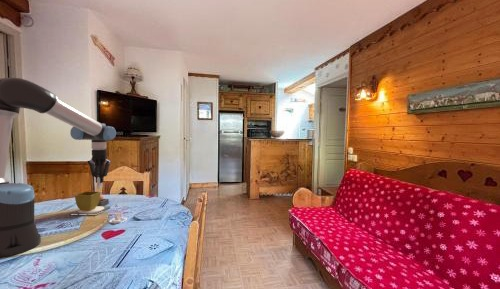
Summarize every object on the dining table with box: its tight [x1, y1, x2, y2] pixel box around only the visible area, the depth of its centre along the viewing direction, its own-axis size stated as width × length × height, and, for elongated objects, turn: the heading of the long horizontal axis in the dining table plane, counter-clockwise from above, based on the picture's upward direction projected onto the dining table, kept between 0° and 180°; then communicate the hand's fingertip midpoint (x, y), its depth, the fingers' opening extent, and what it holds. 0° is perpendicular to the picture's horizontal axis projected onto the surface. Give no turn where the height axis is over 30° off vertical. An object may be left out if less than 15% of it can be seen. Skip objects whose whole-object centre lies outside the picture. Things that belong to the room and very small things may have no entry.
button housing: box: [97, 198, 109, 206], centre depth 140 cm, size 7×7×3 cm
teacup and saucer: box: [108, 211, 128, 224], centre depth 116 cm, size 9×8×4 cm
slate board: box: [70, 205, 111, 215], centre depth 129 cm, size 13×13×1 cm
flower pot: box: [74, 191, 101, 211], centre depth 128 cm, size 9×9×9 cm
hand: (99, 188), depth 140 cm, fingers closed
